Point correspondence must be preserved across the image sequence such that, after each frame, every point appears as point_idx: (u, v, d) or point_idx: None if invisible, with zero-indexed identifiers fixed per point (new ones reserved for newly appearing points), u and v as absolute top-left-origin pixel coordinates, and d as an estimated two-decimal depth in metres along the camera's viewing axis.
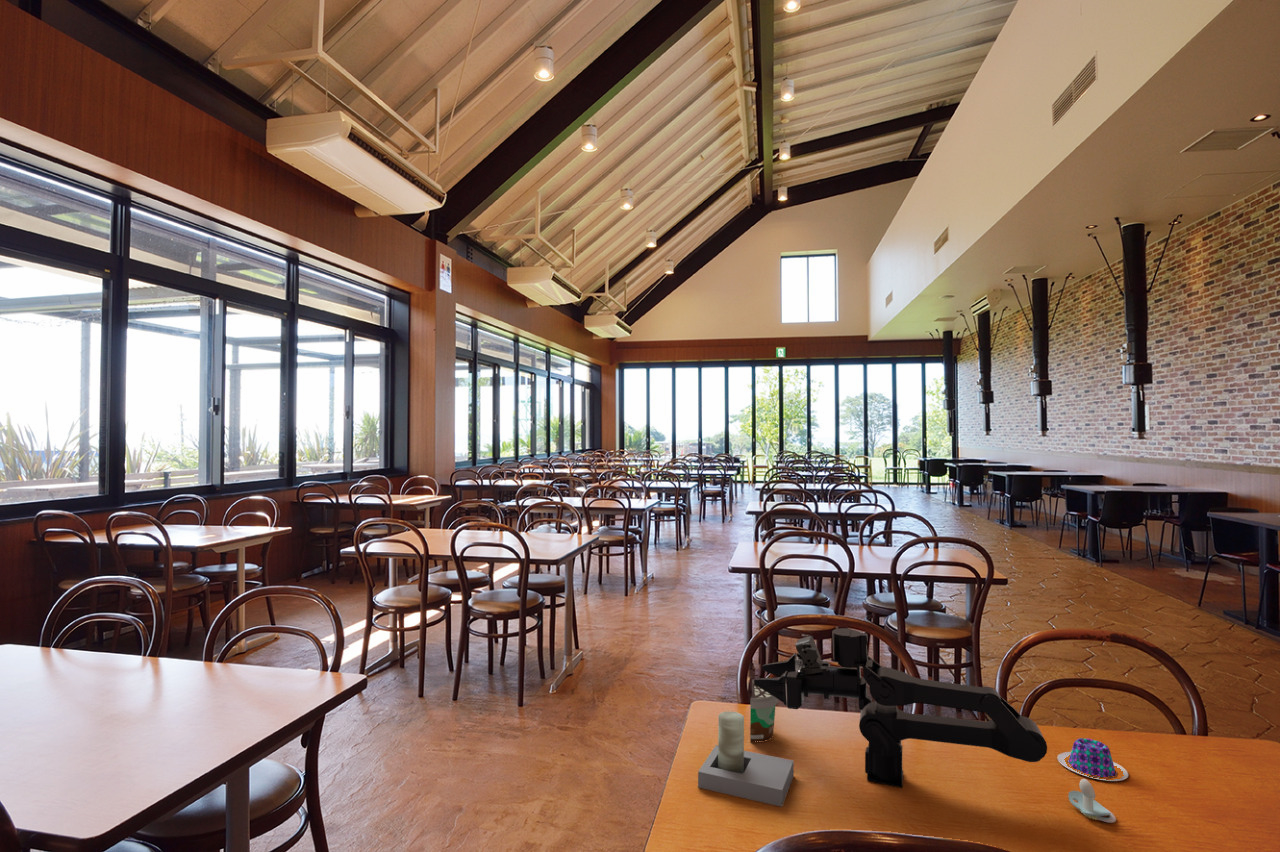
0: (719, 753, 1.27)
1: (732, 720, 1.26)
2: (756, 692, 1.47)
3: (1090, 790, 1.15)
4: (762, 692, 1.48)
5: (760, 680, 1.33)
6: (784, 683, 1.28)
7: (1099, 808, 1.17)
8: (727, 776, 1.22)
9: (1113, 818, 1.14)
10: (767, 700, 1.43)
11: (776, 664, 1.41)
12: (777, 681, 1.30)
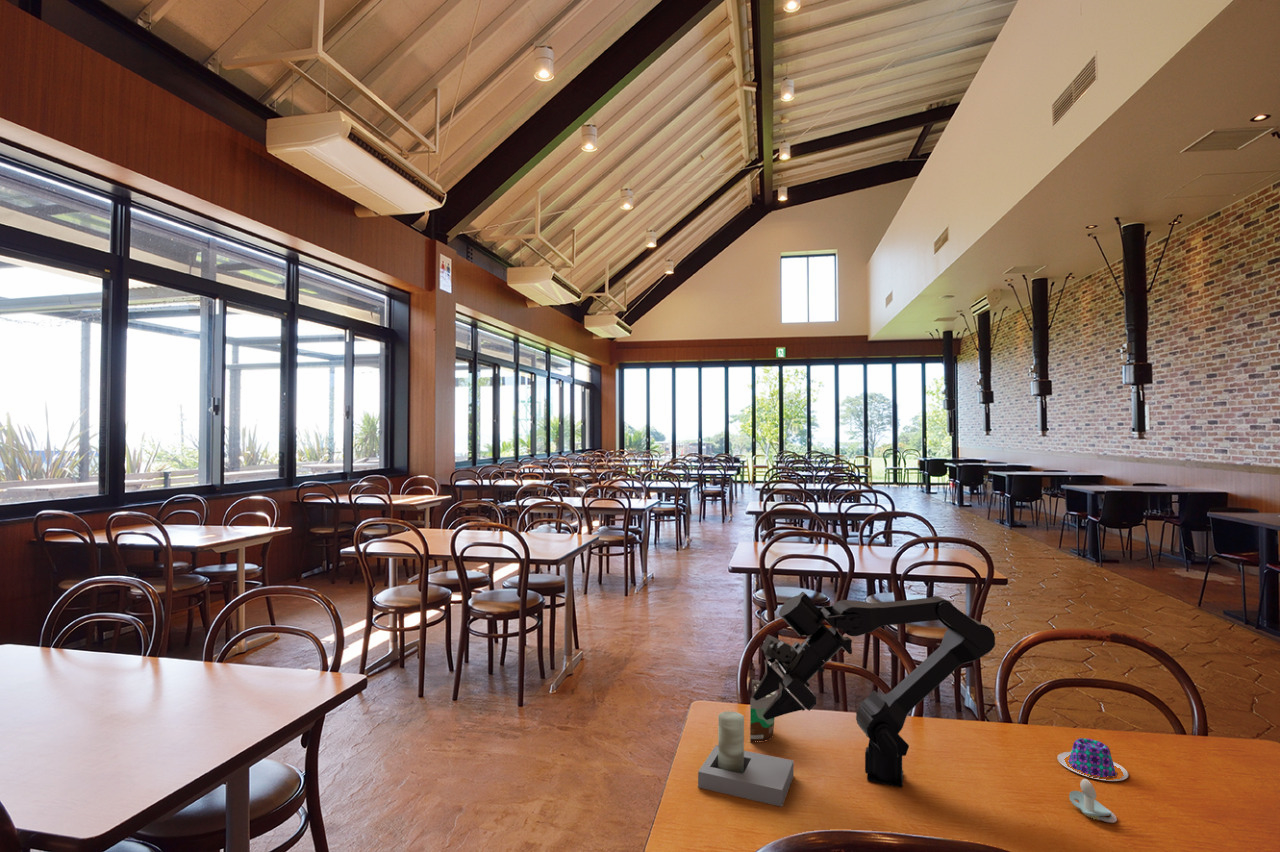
0: (719, 753, 1.27)
1: (732, 720, 1.26)
2: None
3: (1091, 790, 1.15)
4: None
5: (768, 711, 1.23)
6: (788, 694, 1.20)
7: (1100, 808, 1.17)
8: (727, 776, 1.22)
9: (1114, 818, 1.14)
10: (767, 700, 1.43)
11: (761, 684, 1.33)
12: (781, 698, 1.22)
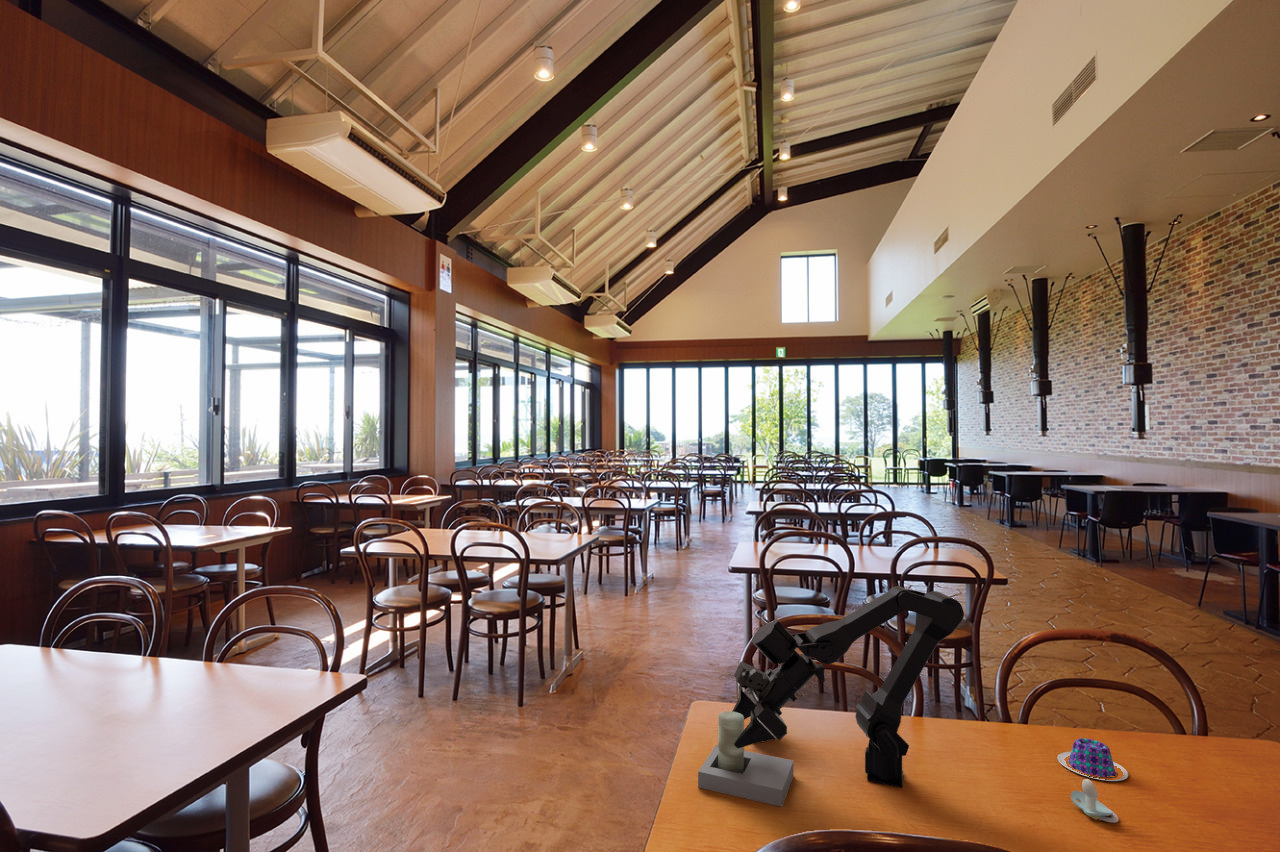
0: (719, 753, 1.27)
1: (732, 720, 1.26)
2: None
3: (1093, 790, 1.15)
4: None
5: (739, 740, 1.23)
6: (759, 723, 1.20)
7: (1102, 808, 1.17)
8: (727, 776, 1.22)
9: (1116, 818, 1.14)
10: None
11: (735, 711, 1.32)
12: (752, 727, 1.22)
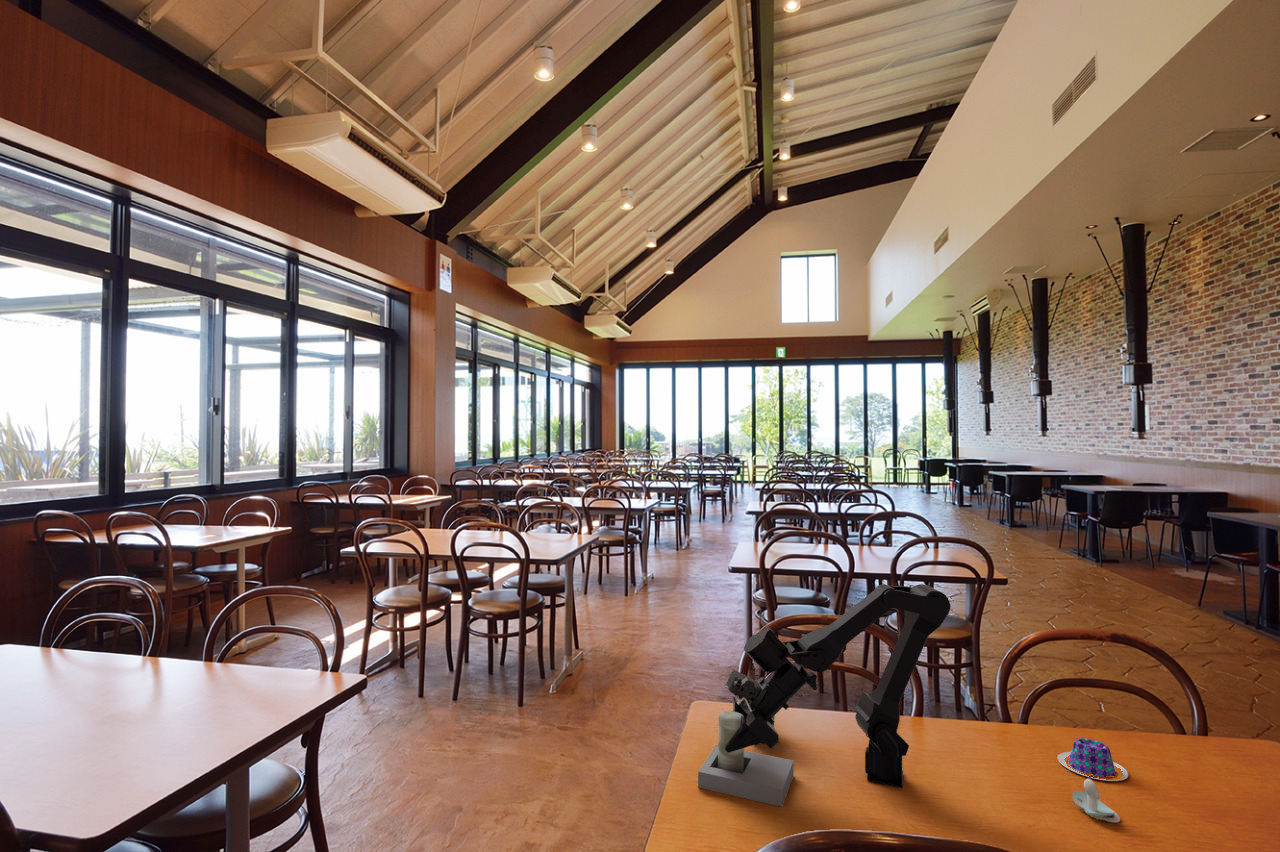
0: (719, 753, 1.27)
1: (732, 720, 1.26)
2: None
3: (1095, 790, 1.15)
4: None
5: (729, 744, 1.24)
6: (749, 728, 1.22)
7: (1103, 808, 1.17)
8: (727, 776, 1.22)
9: (1117, 818, 1.14)
10: None
11: None
12: (742, 731, 1.23)
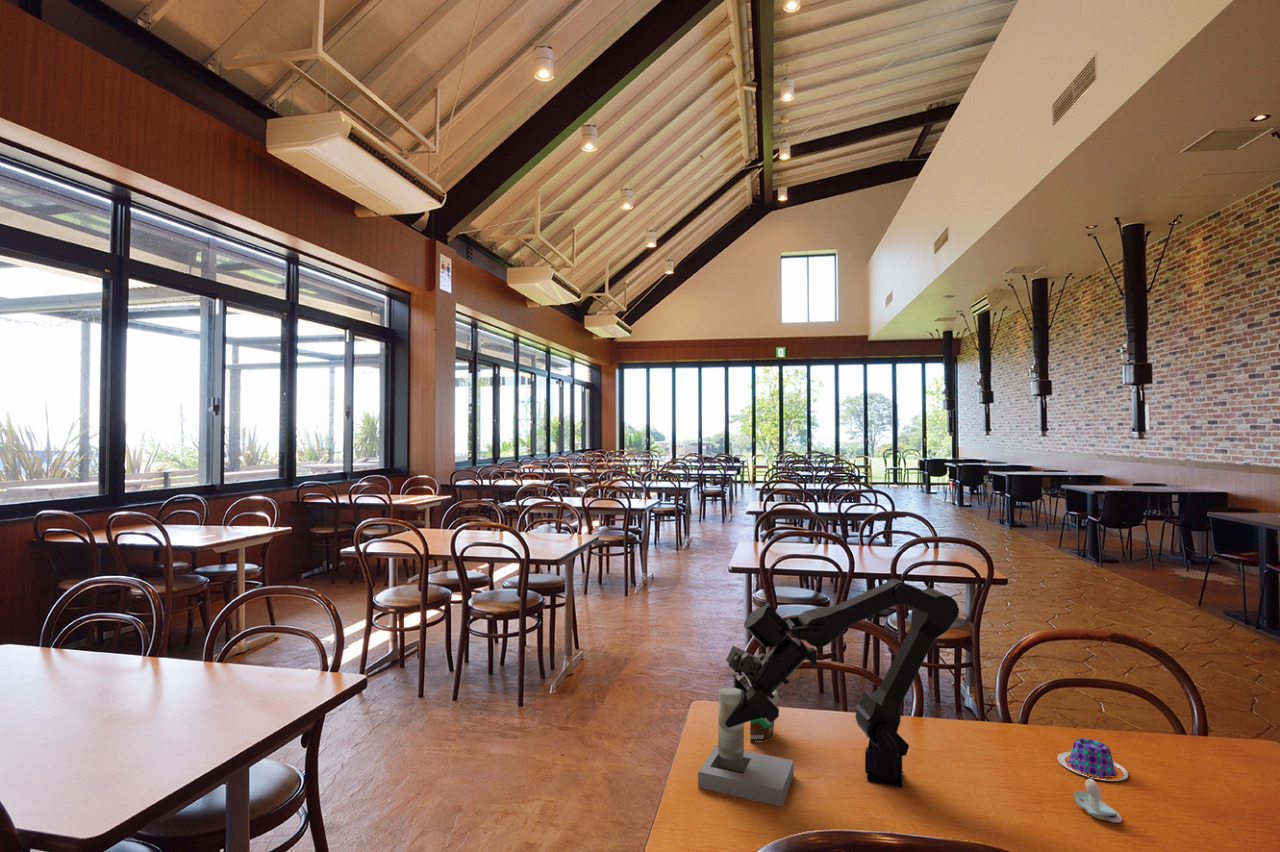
0: (719, 728, 1.27)
1: (733, 695, 1.26)
2: None
3: (1097, 790, 1.15)
4: None
5: (730, 719, 1.25)
6: (749, 702, 1.22)
7: (1105, 808, 1.17)
8: (727, 776, 1.22)
9: (1119, 818, 1.14)
10: None
11: None
12: (742, 706, 1.24)
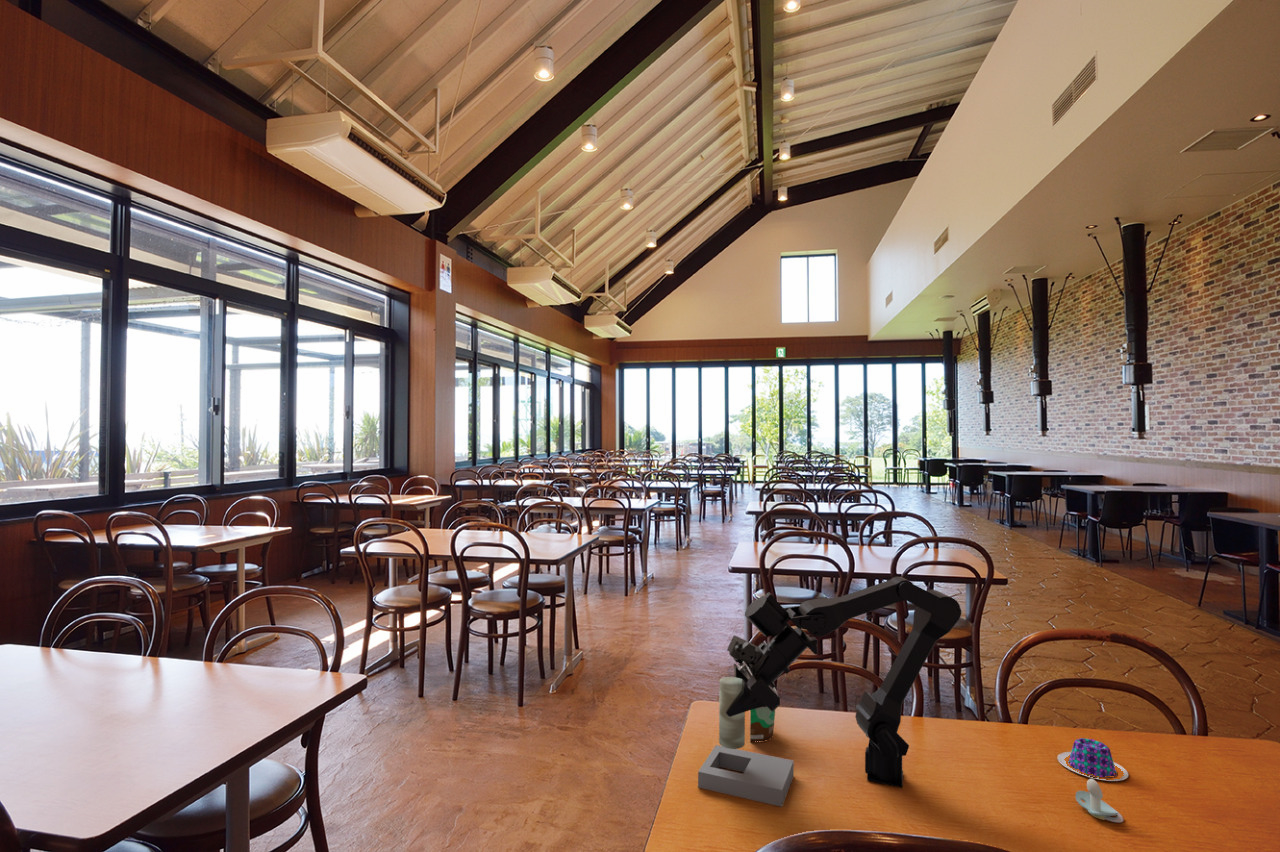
0: (720, 718, 1.27)
1: (733, 684, 1.26)
2: None
3: (1098, 790, 1.15)
4: None
5: (731, 708, 1.25)
6: (750, 691, 1.22)
7: (1106, 808, 1.17)
8: (727, 776, 1.22)
9: (1120, 818, 1.14)
10: None
11: None
12: (743, 695, 1.24)
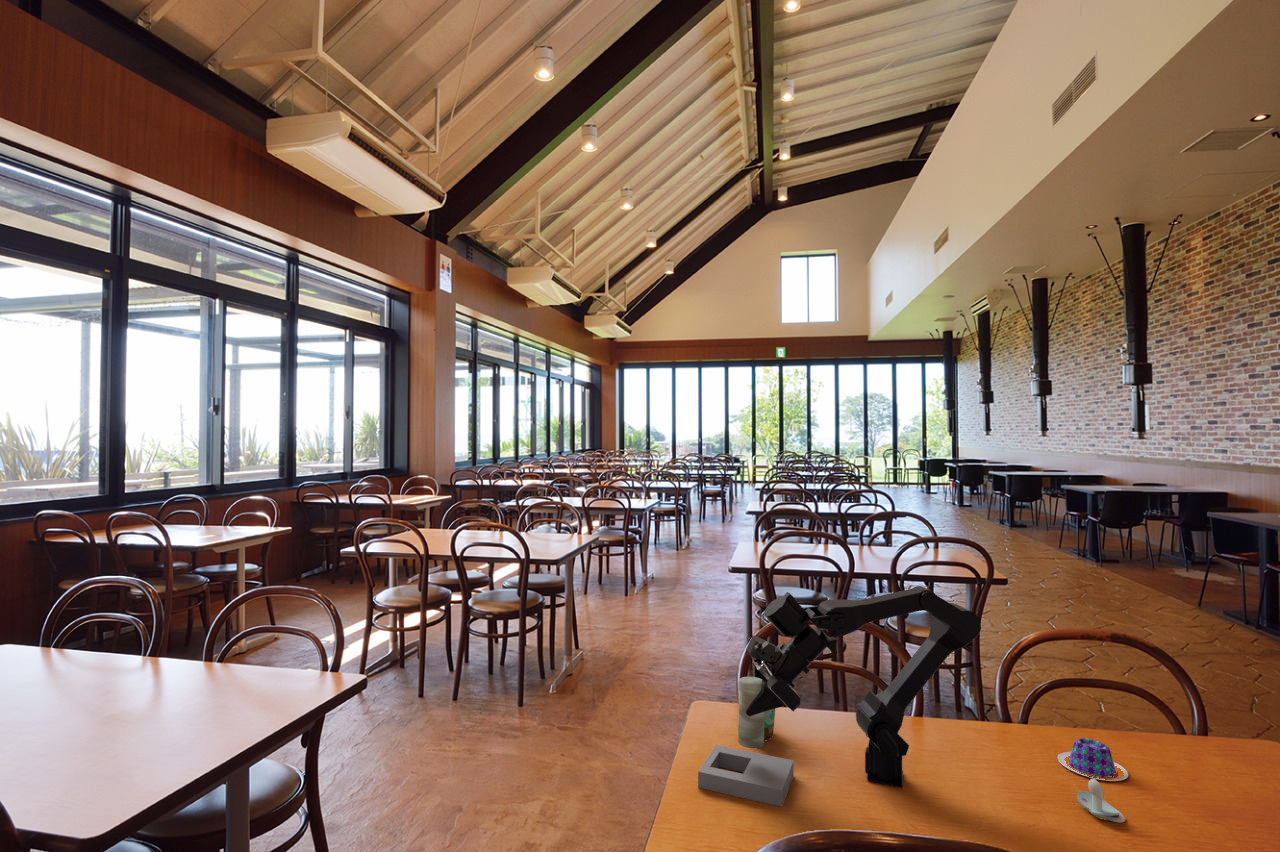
0: (740, 717, 1.27)
1: (753, 684, 1.26)
2: None
3: (1100, 790, 1.15)
4: None
5: (750, 708, 1.25)
6: (770, 690, 1.22)
7: (1108, 808, 1.17)
8: (727, 776, 1.22)
9: (1122, 818, 1.14)
10: None
11: None
12: (763, 695, 1.24)
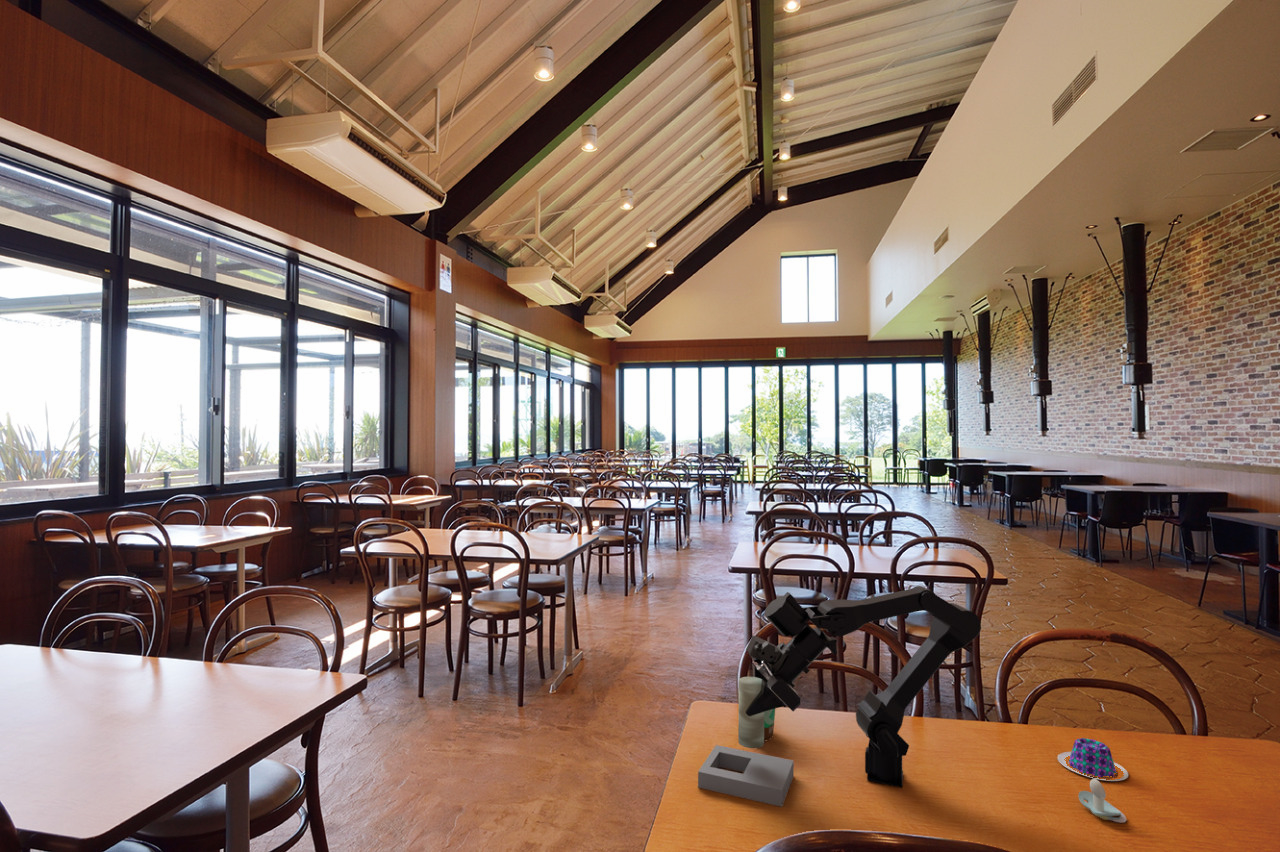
0: (740, 717, 1.27)
1: (753, 684, 1.26)
2: None
3: (1101, 790, 1.16)
4: None
5: (750, 708, 1.25)
6: (770, 690, 1.22)
7: (1109, 808, 1.17)
8: (727, 776, 1.22)
9: (1124, 818, 1.14)
10: None
11: None
12: (763, 695, 1.24)
